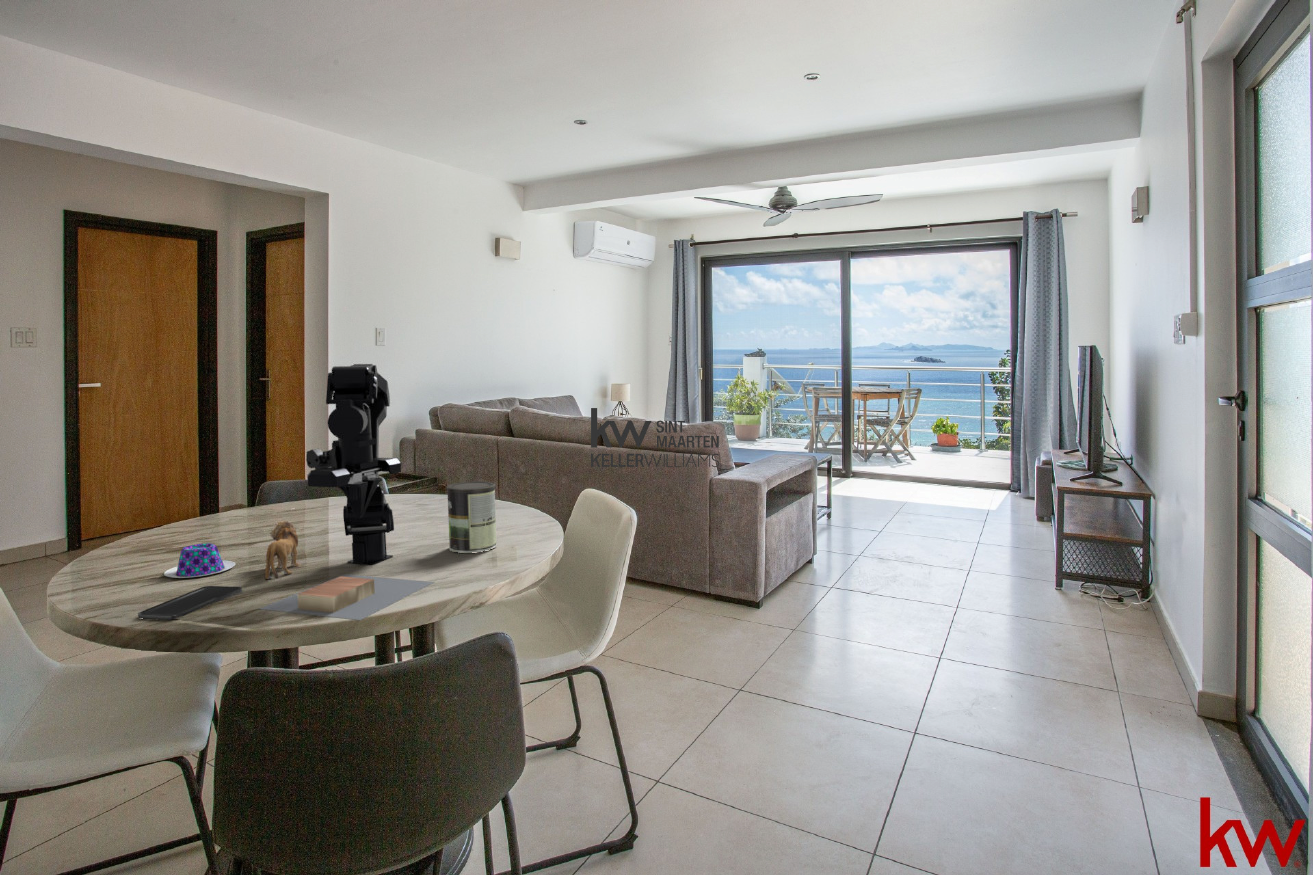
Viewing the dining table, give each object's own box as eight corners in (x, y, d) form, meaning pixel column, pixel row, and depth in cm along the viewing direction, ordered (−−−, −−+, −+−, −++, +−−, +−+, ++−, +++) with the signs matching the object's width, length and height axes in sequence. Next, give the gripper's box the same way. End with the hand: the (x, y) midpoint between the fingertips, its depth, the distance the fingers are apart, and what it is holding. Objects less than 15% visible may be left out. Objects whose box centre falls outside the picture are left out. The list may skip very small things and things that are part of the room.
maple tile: (340, 576, 125) (297, 593, 115) (373, 579, 123) (332, 597, 113) (341, 590, 125) (298, 608, 116) (374, 593, 123) (333, 612, 114)
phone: (134, 614, 113) (206, 585, 128) (134, 621, 113) (206, 591, 128) (178, 616, 112) (245, 586, 127) (178, 623, 112) (245, 592, 127)
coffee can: (445, 555, 150) (442, 489, 148) (453, 543, 160) (451, 481, 158) (494, 553, 151) (492, 488, 149) (499, 541, 161) (497, 480, 159)
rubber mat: (344, 576, 135) (344, 574, 135) (434, 584, 129) (434, 582, 129) (258, 611, 116) (258, 608, 116) (360, 622, 110) (360, 619, 110)
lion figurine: (272, 563, 145) (269, 520, 144) (301, 560, 147) (298, 518, 146) (262, 583, 131) (259, 536, 130) (294, 579, 133) (291, 533, 132)
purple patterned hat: (207, 581, 134) (205, 554, 133) (148, 580, 135) (146, 554, 134) (248, 564, 145) (247, 539, 145) (194, 563, 146) (192, 538, 146)
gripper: (353, 429, 141) (357, 505, 143) (279, 438, 123) (285, 525, 125) (400, 429, 138) (404, 508, 139) (331, 439, 120) (337, 529, 122)
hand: (359, 517), depth 131 cm, fingers closed
